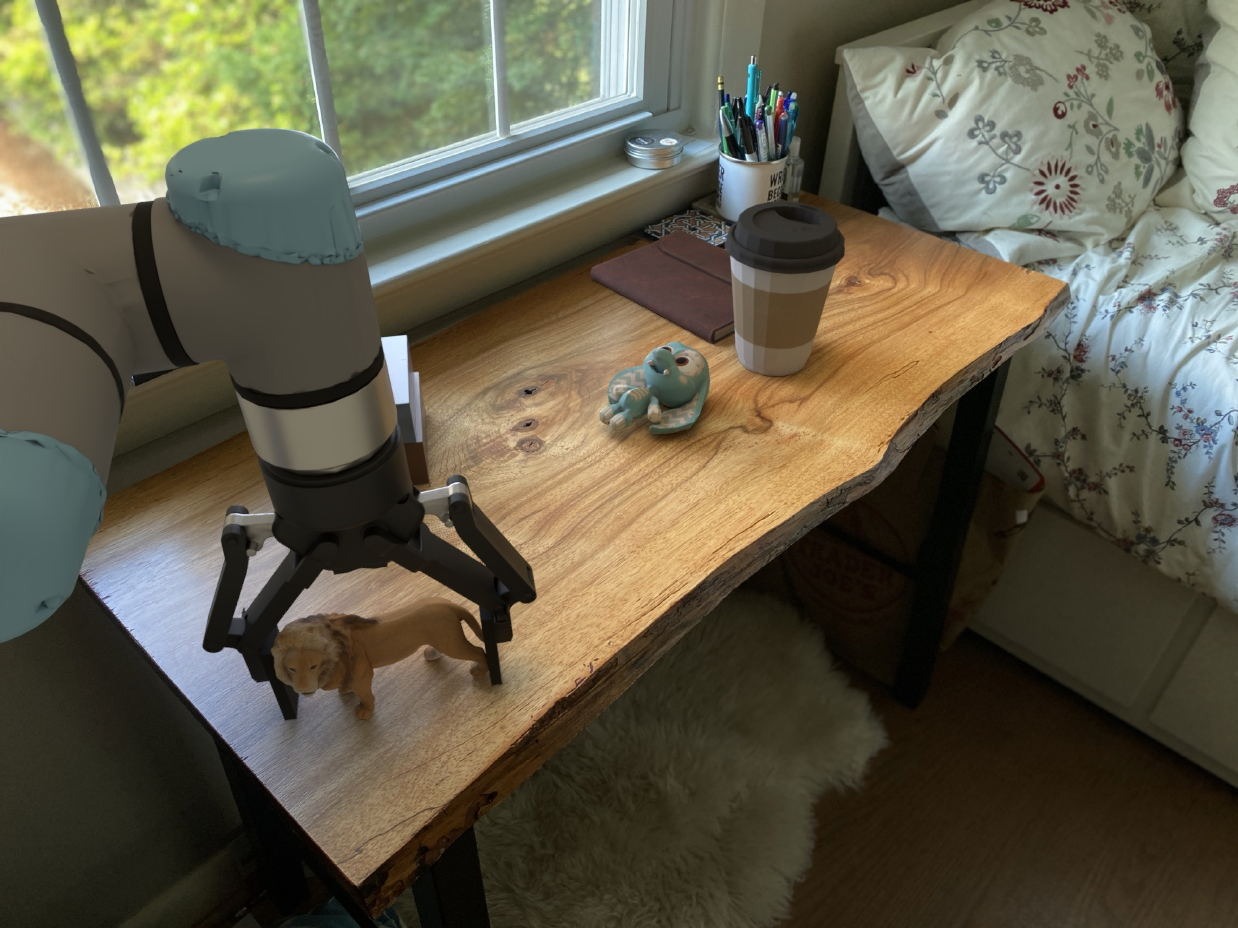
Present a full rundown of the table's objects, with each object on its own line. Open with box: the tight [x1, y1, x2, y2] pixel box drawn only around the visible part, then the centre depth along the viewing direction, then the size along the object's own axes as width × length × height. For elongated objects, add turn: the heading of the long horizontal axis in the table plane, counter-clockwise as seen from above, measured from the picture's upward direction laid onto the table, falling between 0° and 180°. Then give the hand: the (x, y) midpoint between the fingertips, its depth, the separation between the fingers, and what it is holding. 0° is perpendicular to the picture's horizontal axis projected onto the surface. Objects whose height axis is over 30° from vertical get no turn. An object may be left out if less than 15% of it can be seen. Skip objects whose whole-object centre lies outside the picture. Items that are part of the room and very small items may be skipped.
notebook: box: [590, 229, 735, 344], centre depth 107 cm, size 15×20×2 cm
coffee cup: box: [724, 201, 846, 377], centre depth 92 cm, size 11×11×15 cm
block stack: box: [381, 334, 430, 486], centre depth 82 cm, size 9×11×8 cm
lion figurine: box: [271, 596, 489, 720], centre depth 61 cm, size 15×5×9 cm, turn 123°
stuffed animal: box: [598, 340, 711, 435], centre depth 87 cm, size 11×7×12 cm
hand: (395, 686), depth 63 cm, fingers closed on lion figurine, 13 cm apart
